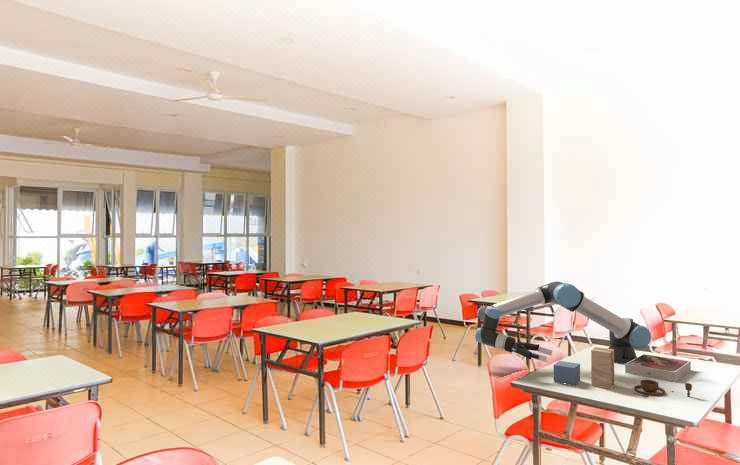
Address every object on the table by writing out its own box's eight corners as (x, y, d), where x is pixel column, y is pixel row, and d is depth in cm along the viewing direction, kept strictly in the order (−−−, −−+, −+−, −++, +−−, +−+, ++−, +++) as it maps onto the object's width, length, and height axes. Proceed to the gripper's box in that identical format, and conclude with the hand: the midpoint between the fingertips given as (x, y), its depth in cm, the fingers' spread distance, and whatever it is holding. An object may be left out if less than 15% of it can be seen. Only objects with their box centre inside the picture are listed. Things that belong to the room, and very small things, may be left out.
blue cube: (559, 377, 241) (559, 360, 241) (580, 380, 235) (580, 363, 235) (553, 382, 233) (553, 364, 233) (574, 385, 227) (574, 368, 227)
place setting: (646, 386, 228) (646, 373, 228) (694, 398, 211) (694, 384, 211) (625, 392, 218) (624, 379, 218) (673, 405, 202) (672, 391, 202)
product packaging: (625, 374, 247) (625, 363, 247) (643, 363, 267) (643, 354, 267) (675, 383, 232) (674, 372, 232) (690, 371, 252) (690, 361, 252)
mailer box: (595, 381, 234) (595, 347, 234) (614, 384, 229) (614, 349, 229) (591, 385, 227) (591, 350, 227) (610, 388, 223) (610, 352, 223)
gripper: (511, 345, 264) (552, 357, 253) (497, 355, 242) (542, 369, 231) (513, 331, 263) (555, 343, 252) (500, 340, 241) (545, 354, 231)
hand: (549, 356), depth 242 cm, fingers open, 13 cm apart
